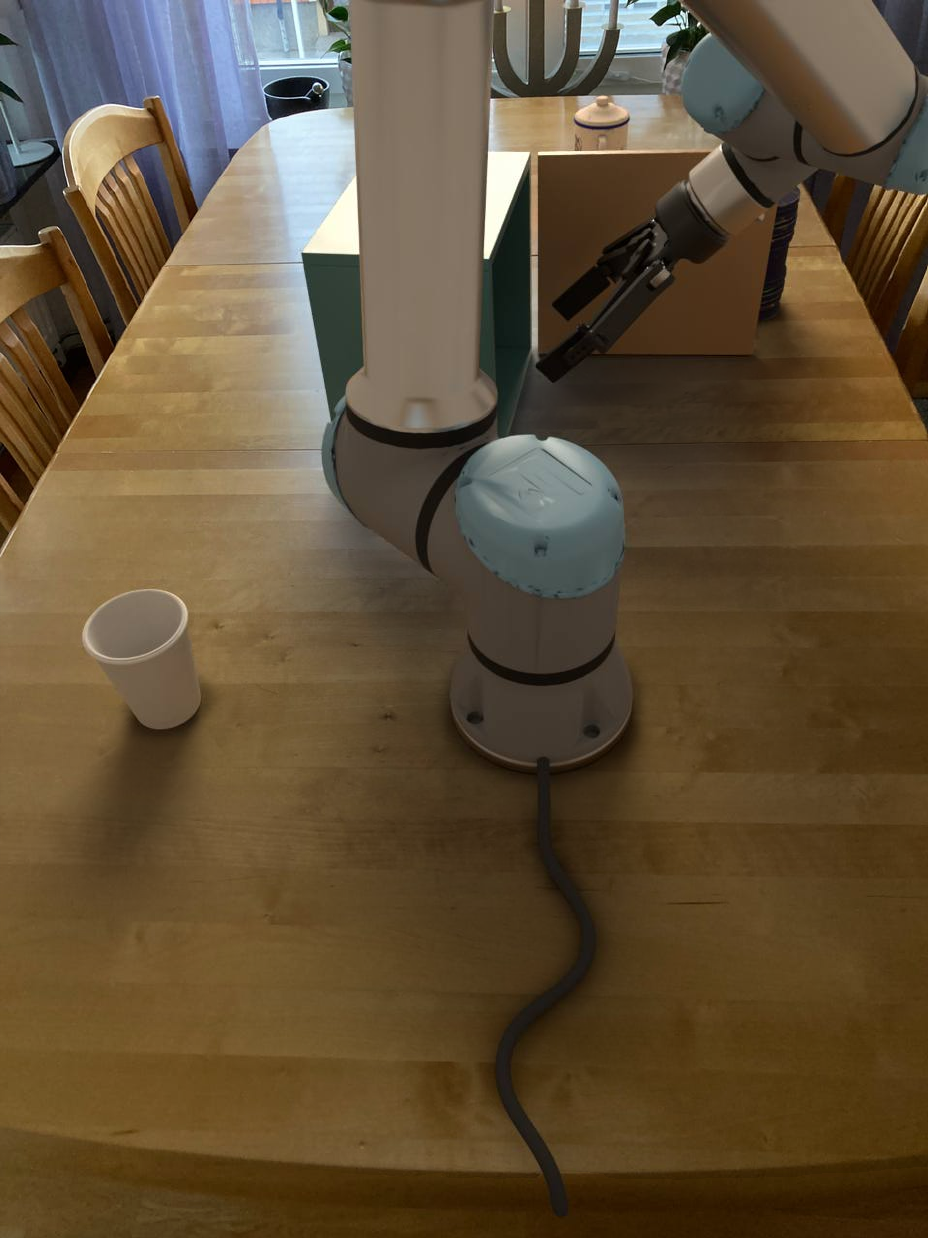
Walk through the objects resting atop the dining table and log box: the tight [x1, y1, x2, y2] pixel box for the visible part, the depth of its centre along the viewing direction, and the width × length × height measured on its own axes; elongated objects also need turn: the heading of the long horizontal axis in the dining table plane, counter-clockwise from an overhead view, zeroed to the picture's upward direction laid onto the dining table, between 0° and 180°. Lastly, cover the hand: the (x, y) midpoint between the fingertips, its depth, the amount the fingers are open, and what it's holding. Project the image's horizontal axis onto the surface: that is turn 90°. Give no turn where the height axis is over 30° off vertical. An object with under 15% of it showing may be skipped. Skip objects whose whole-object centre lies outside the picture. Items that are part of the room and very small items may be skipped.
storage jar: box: [757, 186, 802, 323], centre depth 123 cm, size 10×10×15 cm
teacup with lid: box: [573, 95, 631, 151], centre depth 159 cm, size 12×9×12 cm
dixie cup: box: [81, 588, 202, 730], centre depth 81 cm, size 8×8×10 cm
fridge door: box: [537, 148, 778, 356], centre depth 115 cm, size 7×26×24 cm, turn 84°
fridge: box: [300, 151, 533, 439], centre depth 107 cm, size 18×26×24 cm
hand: (552, 341), depth 107 cm, fingers open, 13 cm apart
